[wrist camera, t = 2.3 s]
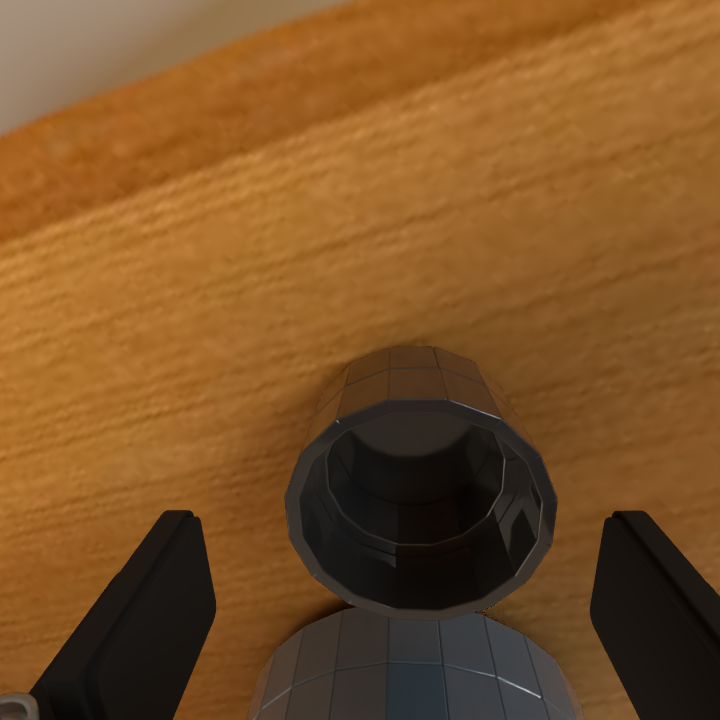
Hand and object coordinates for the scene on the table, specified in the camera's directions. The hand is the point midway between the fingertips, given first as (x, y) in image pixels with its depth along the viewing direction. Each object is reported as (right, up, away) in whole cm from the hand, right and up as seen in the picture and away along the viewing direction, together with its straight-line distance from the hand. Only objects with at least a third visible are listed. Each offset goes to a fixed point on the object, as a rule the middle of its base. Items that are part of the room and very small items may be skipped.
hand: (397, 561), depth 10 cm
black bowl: (+1, +2, +5) cm, 6 cm away
